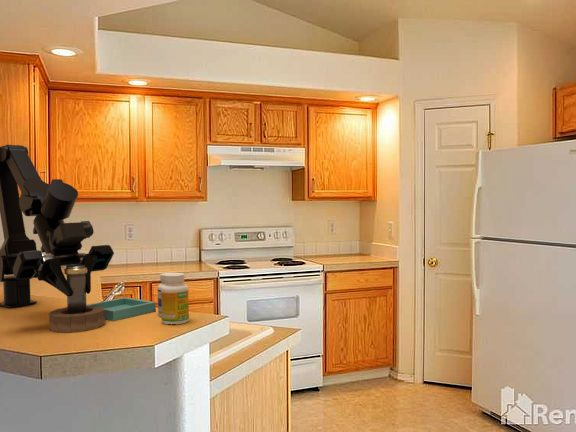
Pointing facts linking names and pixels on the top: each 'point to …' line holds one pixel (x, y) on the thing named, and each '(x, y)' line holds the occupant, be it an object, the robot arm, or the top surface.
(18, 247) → the robot arm
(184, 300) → the supplement bottle
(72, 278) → the steel pin
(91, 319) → the socket
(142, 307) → the tray
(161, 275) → the pill bottle
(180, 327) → the top surface
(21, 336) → the top surface
